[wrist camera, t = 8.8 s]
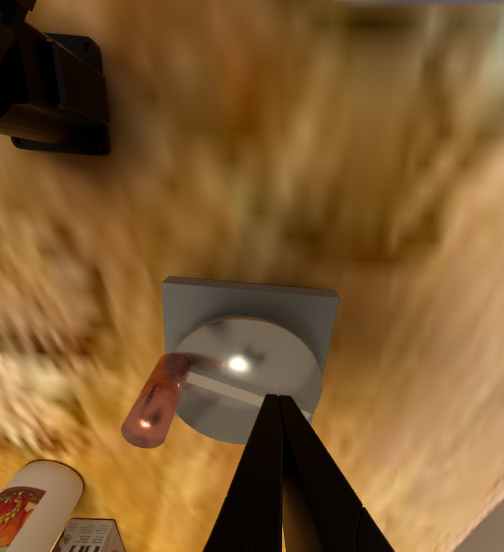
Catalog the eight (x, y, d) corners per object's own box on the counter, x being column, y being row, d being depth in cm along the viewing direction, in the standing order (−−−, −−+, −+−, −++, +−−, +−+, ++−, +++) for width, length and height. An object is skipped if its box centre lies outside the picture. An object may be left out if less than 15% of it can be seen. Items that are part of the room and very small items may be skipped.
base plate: (173, 402, 25) (168, 415, 24) (168, 276, 21) (162, 282, 19) (307, 413, 26) (310, 426, 24) (334, 290, 21) (339, 297, 19)
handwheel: (339, 334, 20) (389, 423, 13) (277, 430, 24) (287, 542, 17) (193, 276, 19) (150, 338, 11) (152, 388, 23) (100, 491, 15)
